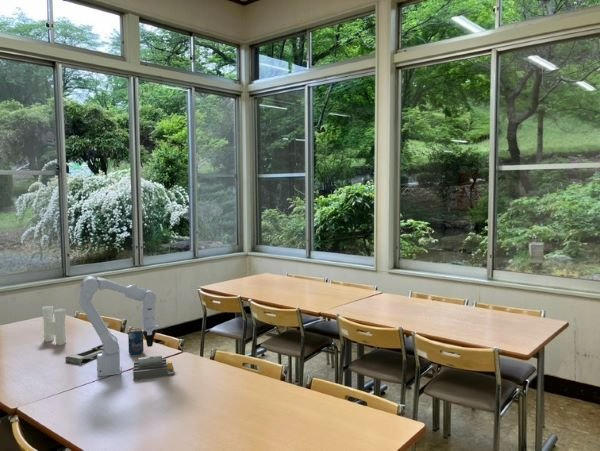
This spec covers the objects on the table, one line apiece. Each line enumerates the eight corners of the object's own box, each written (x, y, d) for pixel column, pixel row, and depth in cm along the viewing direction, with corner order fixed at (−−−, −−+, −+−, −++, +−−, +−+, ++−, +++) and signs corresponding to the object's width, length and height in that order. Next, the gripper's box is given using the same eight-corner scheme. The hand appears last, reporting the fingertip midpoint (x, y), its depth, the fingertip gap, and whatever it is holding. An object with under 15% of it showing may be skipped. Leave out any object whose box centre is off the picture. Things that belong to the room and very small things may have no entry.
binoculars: (41, 340, 256) (40, 307, 255) (51, 337, 261) (50, 305, 260) (58, 345, 247) (57, 311, 245) (68, 342, 251) (67, 309, 250)
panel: (138, 372, 206) (138, 359, 206) (138, 371, 208) (138, 358, 207) (162, 369, 209) (162, 356, 209) (162, 368, 211) (162, 355, 210)
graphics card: (65, 356, 222) (106, 341, 245) (65, 363, 222) (106, 347, 245) (80, 359, 218) (121, 343, 241) (80, 366, 218) (121, 350, 241)
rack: (133, 380, 200) (133, 370, 200) (134, 369, 212) (133, 361, 212) (173, 375, 206) (173, 366, 205) (172, 365, 217) (171, 357, 217)
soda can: (134, 357, 229) (133, 333, 228) (125, 354, 233) (125, 330, 232) (146, 353, 234) (145, 329, 233) (138, 350, 238) (137, 327, 238)
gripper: (158, 320, 209) (159, 350, 210) (157, 312, 223) (158, 340, 224) (141, 321, 207) (142, 351, 208) (142, 313, 221) (142, 342, 222)
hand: (149, 346), depth 216 cm, fingers closed
